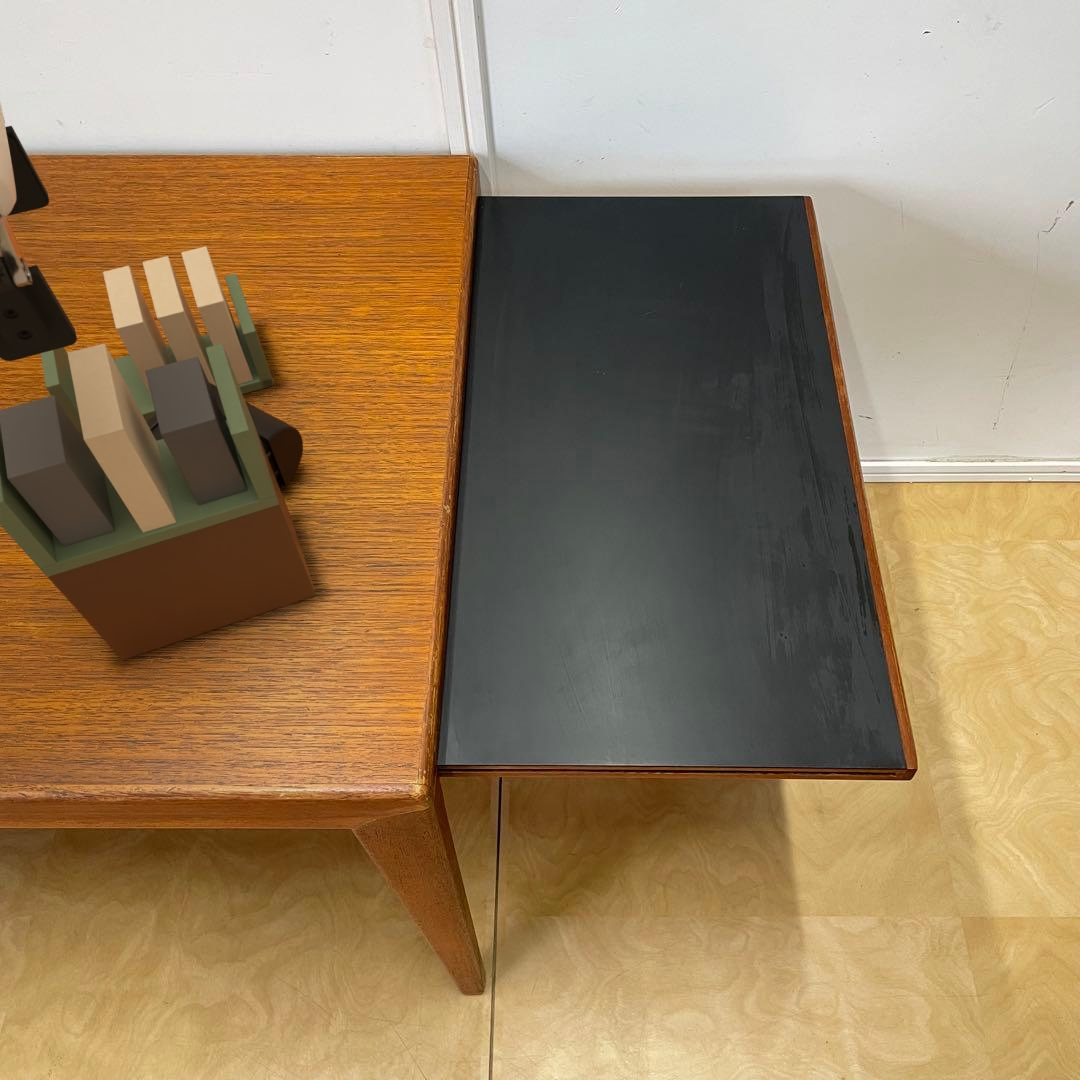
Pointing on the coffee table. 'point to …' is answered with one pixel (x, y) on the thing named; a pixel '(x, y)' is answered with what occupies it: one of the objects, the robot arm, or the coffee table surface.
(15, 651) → the coffee table surface
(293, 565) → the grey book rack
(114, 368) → the cream book
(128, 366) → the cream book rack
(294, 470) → the end cap
